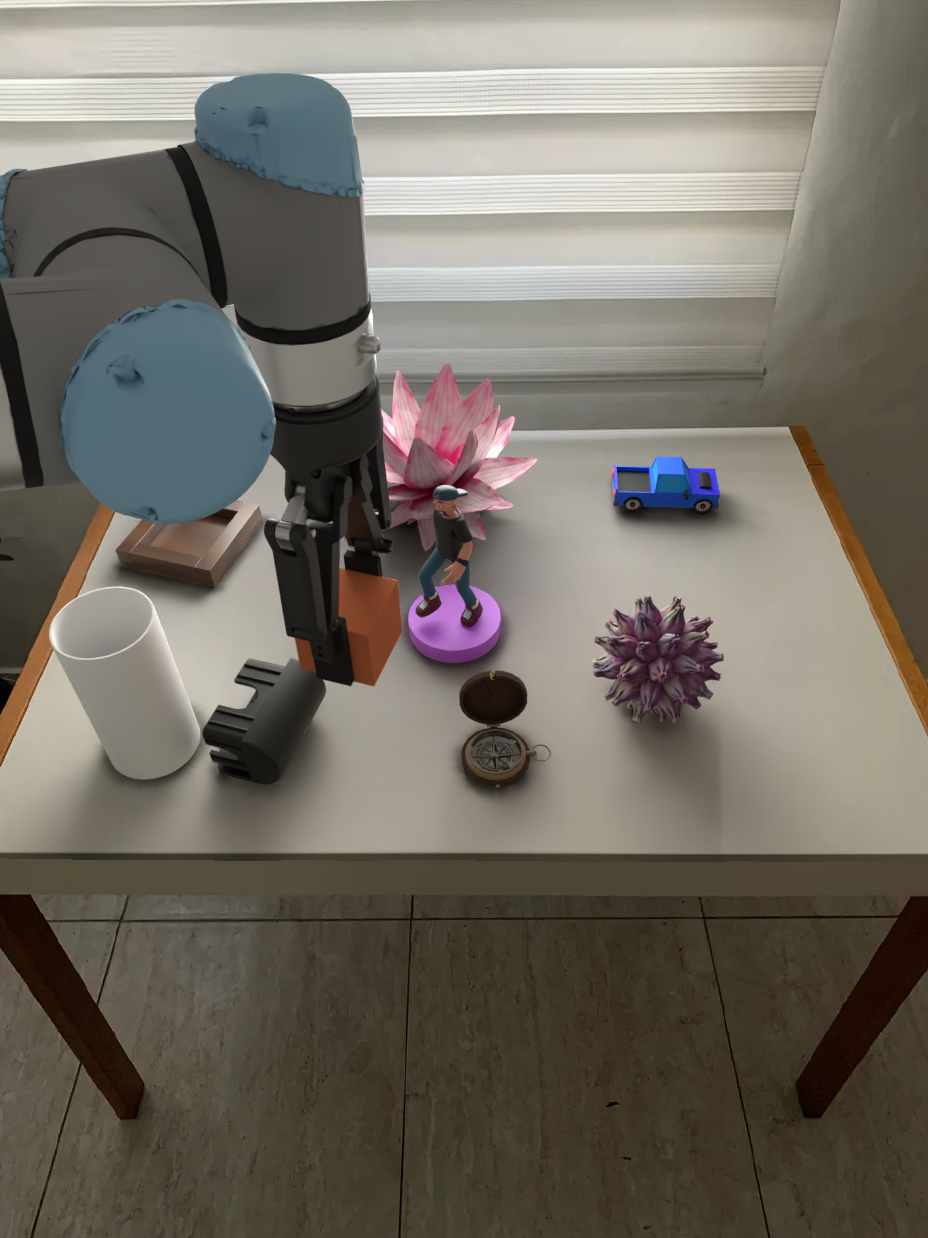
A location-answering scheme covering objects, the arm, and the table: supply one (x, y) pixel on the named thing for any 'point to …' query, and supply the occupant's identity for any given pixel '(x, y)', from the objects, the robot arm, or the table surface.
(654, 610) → the flower
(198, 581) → the brown wooden tray
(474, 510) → the decorative flower
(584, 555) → the table surface
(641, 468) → the toy car
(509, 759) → the compass
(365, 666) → the orange cube
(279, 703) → the end cap
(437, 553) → the figurine
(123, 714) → the cup
